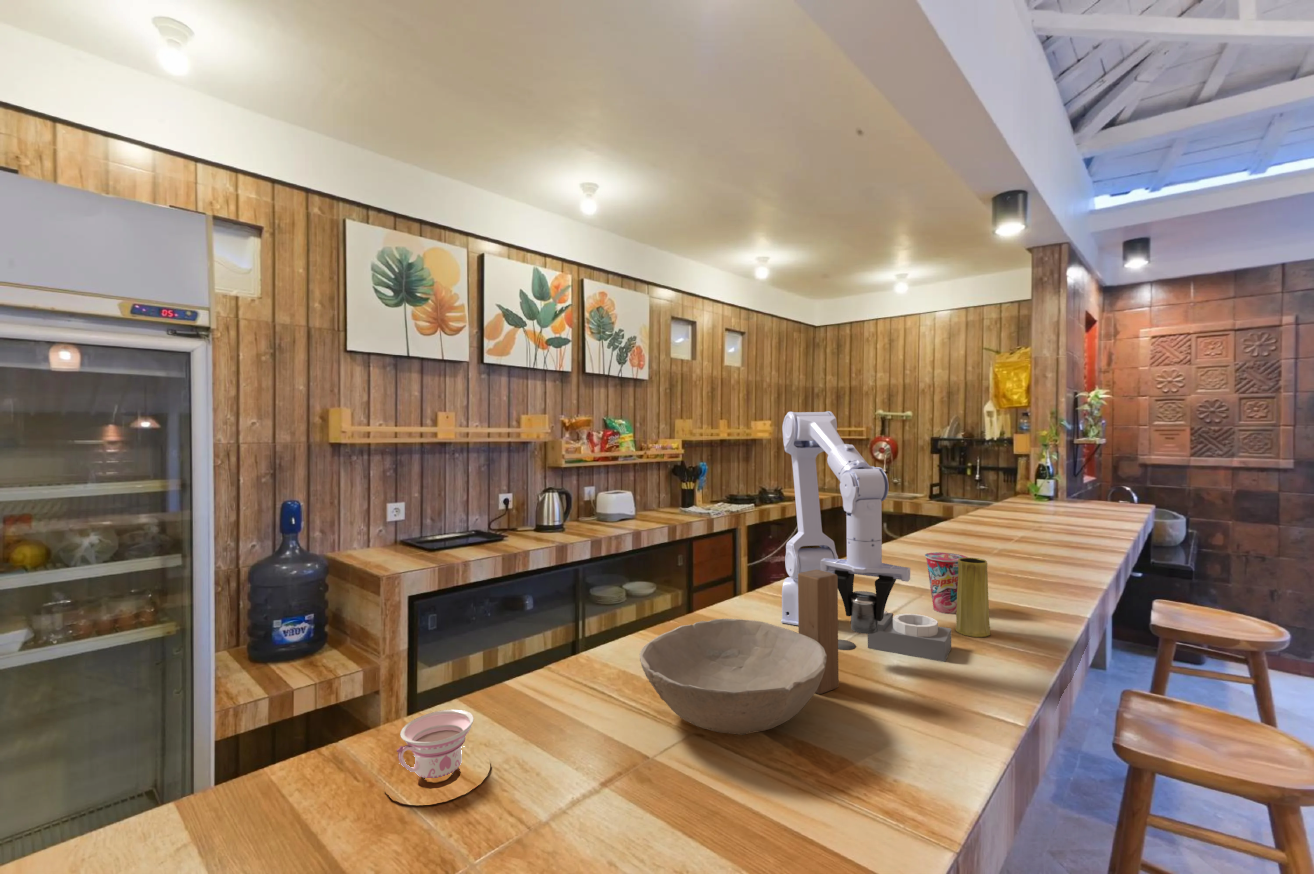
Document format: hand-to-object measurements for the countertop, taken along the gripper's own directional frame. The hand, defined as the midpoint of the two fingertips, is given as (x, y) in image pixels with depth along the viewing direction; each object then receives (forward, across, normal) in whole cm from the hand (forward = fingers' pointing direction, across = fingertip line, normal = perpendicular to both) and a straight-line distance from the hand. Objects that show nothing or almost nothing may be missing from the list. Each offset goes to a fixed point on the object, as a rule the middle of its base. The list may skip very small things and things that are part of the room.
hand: (864, 617), depth 104 cm
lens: (+2, 0, 0) cm, 2 cm away
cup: (+8, +8, +40) cm, 42 cm away
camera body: (+8, +5, +12) cm, 15 cm away
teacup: (+8, -35, -60) cm, 70 cm away
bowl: (+8, -11, -29) cm, 32 cm away
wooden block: (+8, -6, -12) cm, 16 cm away
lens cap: (+9, -6, +7) cm, 13 cm away
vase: (+8, +14, +27) cm, 32 cm away
